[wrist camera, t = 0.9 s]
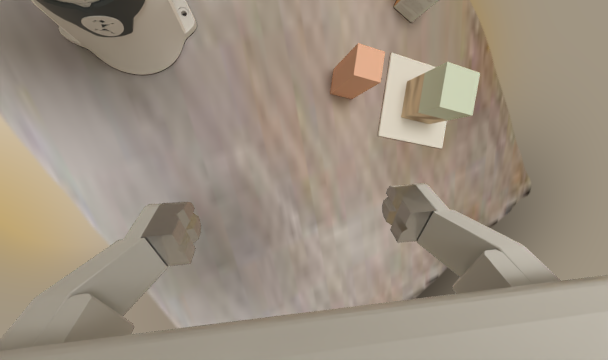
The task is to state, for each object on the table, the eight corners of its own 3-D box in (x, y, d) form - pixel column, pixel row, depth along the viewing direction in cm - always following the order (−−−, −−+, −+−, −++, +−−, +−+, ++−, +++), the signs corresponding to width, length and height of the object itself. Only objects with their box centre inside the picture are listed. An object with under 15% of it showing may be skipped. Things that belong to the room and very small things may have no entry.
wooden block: (401, 117, 48) (418, 112, 43) (406, 81, 48) (424, 72, 43) (429, 124, 50) (448, 120, 46) (435, 89, 50) (455, 82, 45)
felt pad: (377, 135, 48) (378, 135, 47) (390, 53, 47) (391, 52, 46) (440, 148, 52) (442, 148, 52) (453, 74, 51) (455, 73, 51)
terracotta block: (330, 93, 44) (353, 75, 34) (333, 69, 44) (358, 43, 34) (351, 99, 45) (380, 82, 36) (355, 75, 45) (385, 52, 35)
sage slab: (418, 112, 43) (439, 106, 39) (424, 72, 43) (447, 61, 38) (448, 120, 46) (472, 115, 41) (455, 82, 45) (480, 73, 40)
